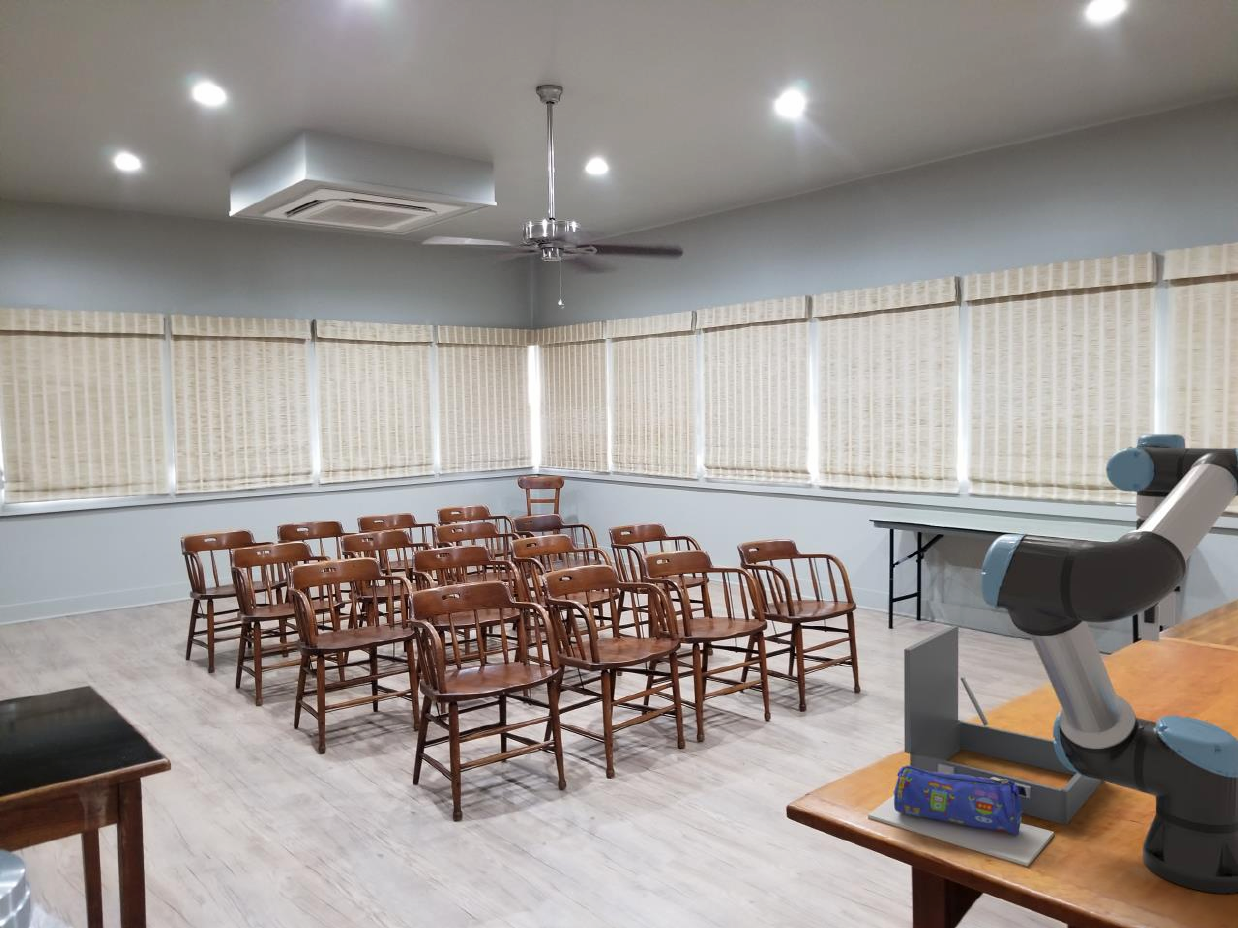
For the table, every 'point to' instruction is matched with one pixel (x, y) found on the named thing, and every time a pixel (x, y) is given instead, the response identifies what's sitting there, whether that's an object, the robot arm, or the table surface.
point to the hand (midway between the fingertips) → (1158, 632)
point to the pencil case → (960, 799)
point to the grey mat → (970, 834)
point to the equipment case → (975, 732)
